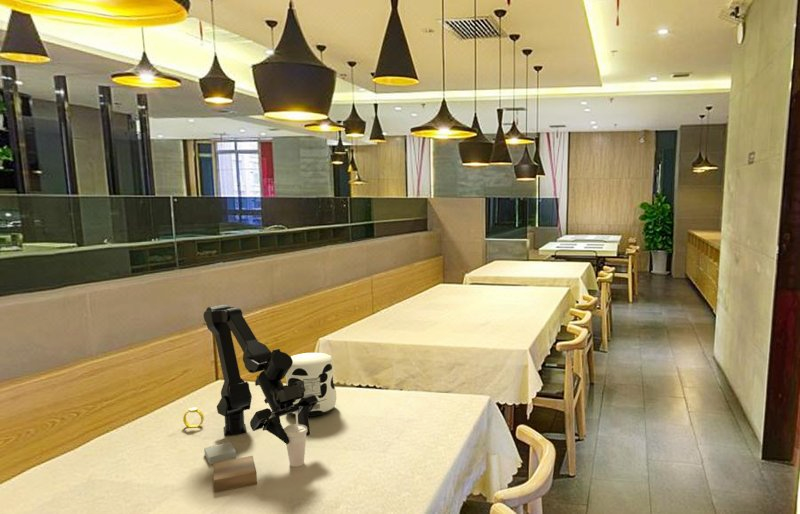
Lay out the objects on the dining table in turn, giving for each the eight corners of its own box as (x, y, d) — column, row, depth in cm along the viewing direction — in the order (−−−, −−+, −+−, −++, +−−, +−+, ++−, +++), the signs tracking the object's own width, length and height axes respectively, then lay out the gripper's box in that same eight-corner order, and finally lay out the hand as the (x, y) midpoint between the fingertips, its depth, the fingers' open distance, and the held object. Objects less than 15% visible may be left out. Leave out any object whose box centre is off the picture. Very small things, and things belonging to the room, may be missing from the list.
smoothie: (303, 470, 142) (301, 417, 141) (280, 468, 143) (278, 416, 142) (312, 458, 148) (310, 408, 147) (290, 457, 149) (288, 407, 148)
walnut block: (213, 473, 141) (212, 462, 141) (253, 466, 145) (252, 455, 144) (214, 492, 132) (213, 480, 132) (257, 483, 135) (256, 472, 135)
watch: (204, 425, 175) (204, 407, 174) (201, 429, 172) (201, 410, 171) (185, 424, 175) (185, 406, 174) (182, 428, 172) (182, 410, 171)
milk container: (311, 398, 196) (309, 349, 195) (347, 407, 186) (345, 355, 184) (273, 414, 182) (271, 361, 181) (311, 424, 172) (308, 368, 170)
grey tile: (204, 454, 153) (204, 447, 152) (230, 448, 156) (229, 441, 156) (209, 464, 147) (209, 457, 146) (236, 458, 150) (235, 451, 150)
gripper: (253, 381, 140) (279, 435, 133) (312, 365, 153) (339, 413, 146) (239, 404, 146) (263, 456, 139) (297, 387, 159) (322, 434, 152)
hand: (298, 439), depth 144 cm, fingers closed on smoothie, 6 cm apart
